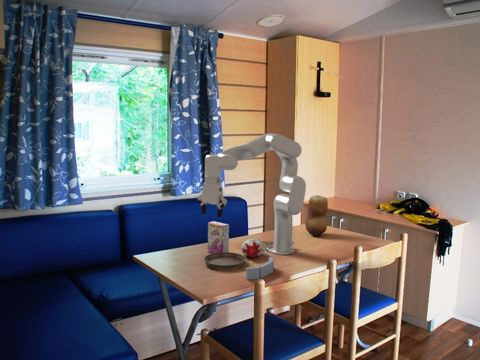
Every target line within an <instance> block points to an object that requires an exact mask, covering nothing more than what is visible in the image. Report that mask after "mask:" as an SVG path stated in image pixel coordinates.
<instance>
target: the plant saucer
mask: <svg viewBox="0 0 480 360" xmlns="http://www.w3.org/2000/svg"><path fill="white" fill-rule="evenodd" d="M203 257H204V258H203V260H204V263H206V264H207V266H208V267H210V268H212V269H217V270H233V269H236V268H239V267H241V266H242V265H243V264H244V263H245V262H246V259H247V257H246V256H244V254H243V255H242V254H241V253H236V252H221V253H210V254H207V255H206V256H203Z"/></svg>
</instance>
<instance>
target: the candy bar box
mask: <svg viewBox="0 0 480 360" xmlns="http://www.w3.org/2000/svg"><path fill="white" fill-rule="evenodd" d="M229 244H230V224H228V223H223V222H218V221H215V220H214V221H213V220H212V221H210V222H207V253H210V254H213V253H221V252H229V251H230V250H229V248H230V247H229ZM229 253H230V252H229Z"/></svg>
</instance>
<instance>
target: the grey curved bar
mask: <svg viewBox="0 0 480 360" xmlns="http://www.w3.org/2000/svg"><path fill="white" fill-rule="evenodd" d="M274 263H275V260H274V258H273V257H272V256H271V257H270V256H269V257H268V261H267V262H265V263H263V264H262V265H259V266H251V267H249V266H248V267H246V268H245V279H246V281H247V280H258V279H262V278H264V277H266V276H268V275H270V274H272V273H273V272H274V269H275V267H274V266H275V264H274Z"/></svg>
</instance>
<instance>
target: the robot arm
mask: <svg viewBox="0 0 480 360" xmlns="http://www.w3.org/2000/svg"><path fill="white" fill-rule="evenodd" d="M269 151H275V154H277V157H279V159H280V161H281V170H280V171H281V172H280V176H279V177H280V178H279V185H278V186H279V189H280V190H281V191H282V192H286V194H285V193H280V194H277V195H276V196H275V197H274V199H273V210H274V211H273V212H274V228H273V230H274V231H273V232H274V234H273V237H274V238H273V247H271V248H270V252H271V253H272V254H276V255H285V256H286V255H292V254H294V253H295V249H294V248H293V247H292V246H294V245H295V242H294V241H293V238H292V237H293V216H297V215H299V214H300V213H301V212H302V210H303V207H304V202H305V196H306V192H307V183H306V181H305V179H304V178H303V177H301V176H300V175H298V169H299V163H298V159H297V158H299V157H300V156H301V155H302V146H301V145H300V143H299V142H298V141H295V140H292V138H291V139H290V138H288V137H286V136H285V135H282V134H279V133H271V132H270V133H264V134H262V135H260V136H258V137H257V138H254V139H251V140H250V141H248V142H244V143H241V144H239V145H236V146H233V147H230V148H228V149H225V150H223V151H221V152H219V153H218V154H207V155H206V156H205V158H204V182H203V185H202V192H201V194H199V195H198V196H197V197H196V198H197V201H198V204H199V205H200V208H201V209H200V210H201V211H200V212H201V215H206V214H207V204H209V205H216V207H217V208H218V209H217V213H216V215H217V218H222V217H223V209H224V208H225V207H226V205H227V203H228V200H227V198H225V197H224V190H223V189H224V188H223V184H222V182H223V180H222V179H221V175H222V174H221V171H233V170H235V169H236V168H237V166H239V165H238V164H239V162H238V161H245V160H251V159H252V160H253V159H255V158H257V157H259V156H261V155H263V154H265V153H267V152H269ZM287 193H289V194H287Z"/></svg>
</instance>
